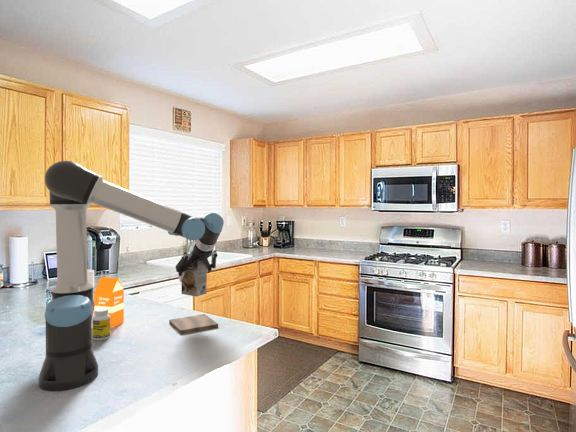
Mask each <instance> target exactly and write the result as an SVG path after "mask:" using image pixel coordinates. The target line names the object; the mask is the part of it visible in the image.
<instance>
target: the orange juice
mask: <svg viewBox="0 0 576 432" xmlns="http://www.w3.org/2000/svg"><path fill="white" fill-rule="evenodd" d="M124 291H125V290H124V287H123V285H122V282H121V281H120V279H119V278H118V277H103V276H100V278H99V281H98V282H97V285H96V287H95V288H94V291H93V301H94V305H95V307H94V311H93V317H94V316H95V310H96V309H100V308H107V309H108V313H107V314H109V315H110V328H114V327H116V326H118V325H119V324H122V323H124V322H125V318H124V317H125V316H124V315H125V313H124V311H125V310H124V309H125V302H124V301H125V296H124V295H125V294H124V293H125V292H124Z"/></svg>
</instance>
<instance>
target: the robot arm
mask: <svg viewBox="0 0 576 432" xmlns="http://www.w3.org/2000/svg"><path fill="white" fill-rule="evenodd" d="M44 184H45V186H46V188H47V189H48V191H49V192H48V193H49V206H50V207H51V208H52V209H54V211H55V236H56V238H55V239H56V240H55V241H56V242H55V245H56V270H57V271H56V275H57V277H56V278H57V281H56V283H57V284H56V285H55V287H53V288H52V290H51V298H52V299H51V300H50V301H49V302H48V303H47V304H46V306H45V310H44V319H45V357H44V360H43V363H42V366H41V369H40V371H39V375H38V387H39V388H40V389H42V390H45V391H50V392H51V391H65V390H71V389H74V388H77V387H80V386H83V385H86V384H89V383H90V382H91V381H93V380H94V379H96V377H97V376H98V375H99V364H98V362H97V359H96V357H95V353H94V352H93V349H92V346H93V345H92V340H93V339H92V318H93V317H94V307H95V305H94V288H93V285H91V284H90V283H89V282H88V273H87V270H88V241H87V240H88V237H87V236H88V235H87V234H88V233H87V232H88V231H87V228H88V227H87V210H88V209H89V208H90V207H92V204H95V205H96V206H99V207H102V208H105V209H107V210H110V211H113V212H115V213H118V214H121V215H123V216H126V217H129V218H132V219H133V220H134V219H135V220H136V221H139V222H142V223H145V224H148V225H150V226H153V227H155V228H158V229H161V230H163V231H167V233H168V234H169V235H170V236H175V237H182V238H185V239H187V241H195V243H194V245H193V249H192V251H191V252H190V253H187V252H184V253H183V255H182V256H181V258H180V259H179V261H178V262H177V264H175V270H176V272H177V273H178V281H179V282H180V283H182V279H183V277H184V274H185V270H186V269H187V268H188V267H190V266H191V265H192V264H195V263H196V262H197V261H205V263H206V265H207V274H209V273H210V272H211V271H212V269H216V267H217V265H216V264H217V258H218V252H217V250H216V249H215V246H216V243H217V241H218V239H219V236H220V235H221V232H222V231H223V227H224V224H225V221H224V219H223V217H222V216H221V215H220V214H218V213H215V212H209V213H207V214H205V216H204V217H196V216H193V215H189V214H188V213H184V212H181V211H180V210H177V209H175V208H172V207H170V206H168V205H165V204H163V203H161V202H158V201H155V200H153V199H150V198H148V197H146V196H143V195H141V194H138V193H136V192H133V191H130V190H128V189H126V188H123V187H121V186H118V185H116V184H114V183H111V182H108V181H106V180H104V179H103V177H102V175H99V174H97V173H96V172H93V171H92V170H89V169H88V168H86V167H84V166H83V165H81V164H79V163H77V162H76V161H72V160H60V161H57V162H54V163H53V164H52V165H50V166H49V167H48V168H47V170H46V171H45V174H44ZM214 249H215V250H214ZM189 257H190V258H189ZM210 257H211V260H210V261H211V262H210V261H209V258H210Z"/></svg>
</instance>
